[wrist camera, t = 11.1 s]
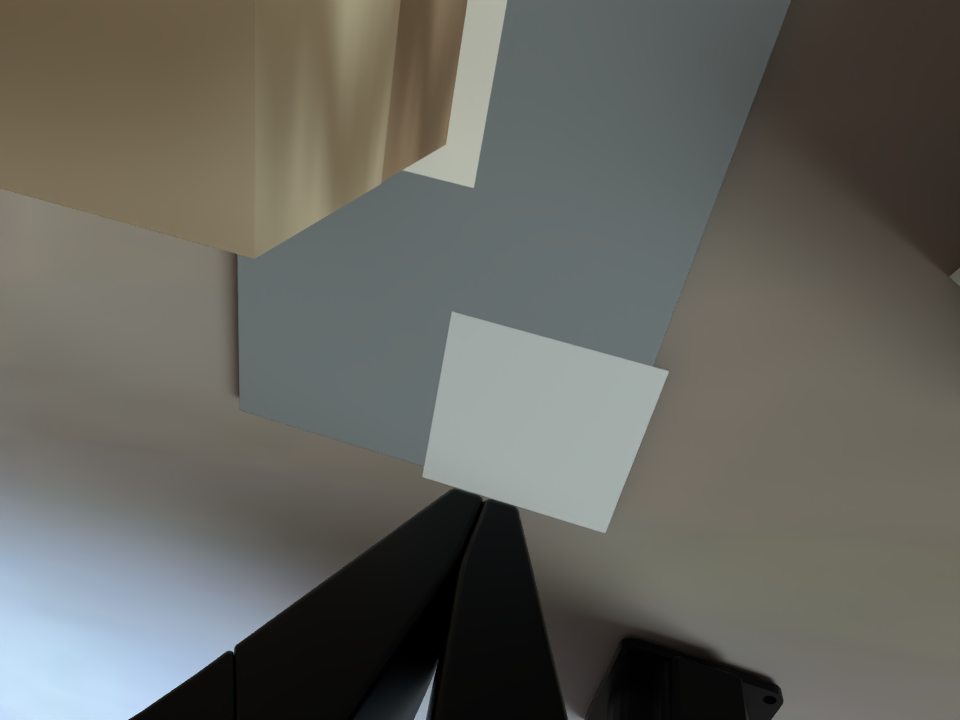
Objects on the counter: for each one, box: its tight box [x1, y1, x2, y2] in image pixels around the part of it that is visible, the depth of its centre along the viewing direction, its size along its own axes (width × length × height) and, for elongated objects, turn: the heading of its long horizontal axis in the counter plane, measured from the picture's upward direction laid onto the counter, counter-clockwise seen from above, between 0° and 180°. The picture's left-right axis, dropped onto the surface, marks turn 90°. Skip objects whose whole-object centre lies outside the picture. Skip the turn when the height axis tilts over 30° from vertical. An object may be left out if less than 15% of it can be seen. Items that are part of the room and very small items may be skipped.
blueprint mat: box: [237, 0, 791, 533], centre depth 19 cm, size 18×14×1 cm
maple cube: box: [0, 0, 401, 259], centre depth 10 cm, size 5×5×5 cm
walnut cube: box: [382, 0, 468, 182], centre depth 15 cm, size 5×5×5 cm
